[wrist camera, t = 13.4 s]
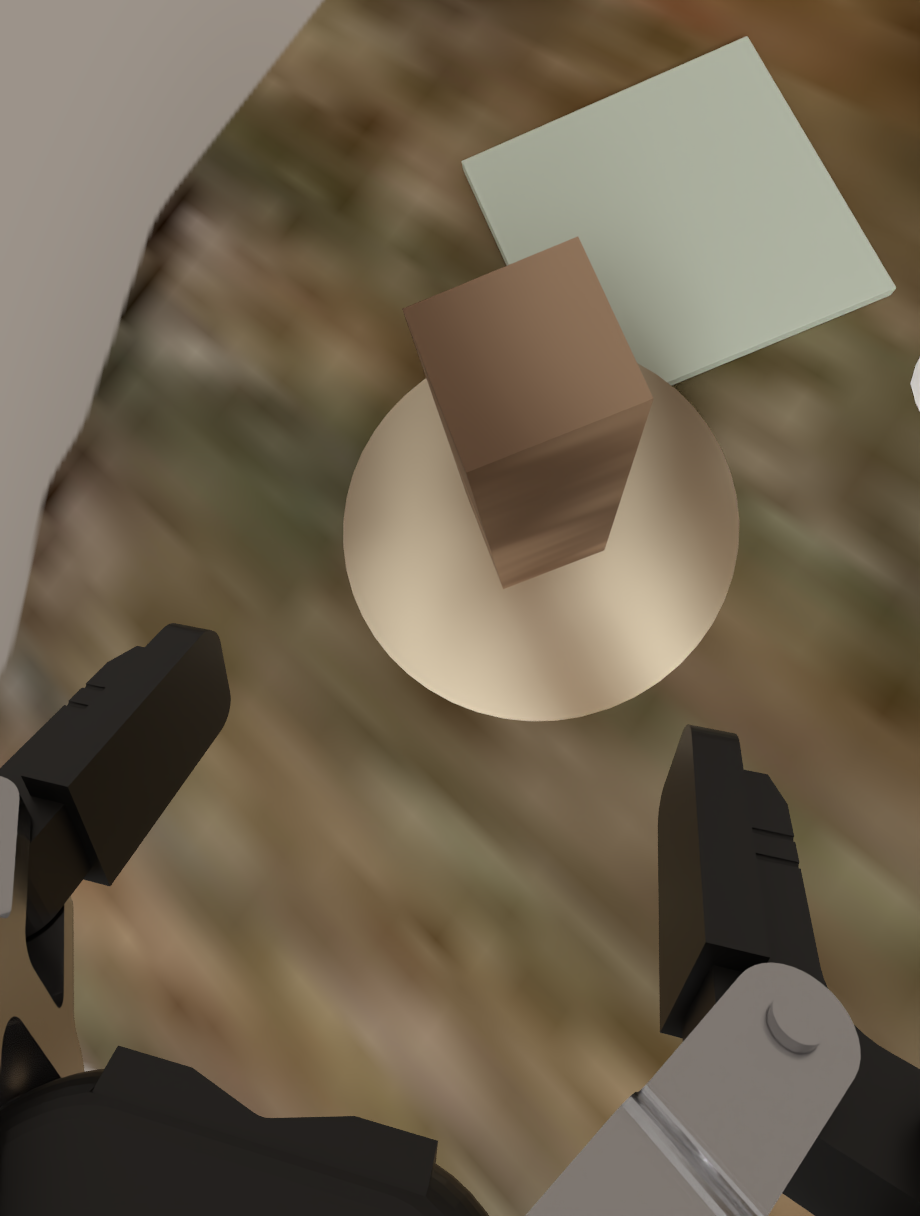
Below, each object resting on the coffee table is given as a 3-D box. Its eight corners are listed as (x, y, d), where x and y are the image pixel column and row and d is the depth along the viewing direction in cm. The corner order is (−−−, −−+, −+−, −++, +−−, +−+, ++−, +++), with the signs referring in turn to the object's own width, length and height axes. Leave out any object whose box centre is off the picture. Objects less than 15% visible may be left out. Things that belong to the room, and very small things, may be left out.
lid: (638, 305, 25) (716, -57, 13) (796, 638, 22) (1061, 544, 11) (307, 439, 26) (112, 205, 14) (422, 777, 23) (298, 827, 11)
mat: (744, 46, 32) (747, 36, 31) (890, 295, 29) (896, 287, 28) (463, 169, 32) (461, 161, 32) (578, 424, 30) (578, 418, 29)
